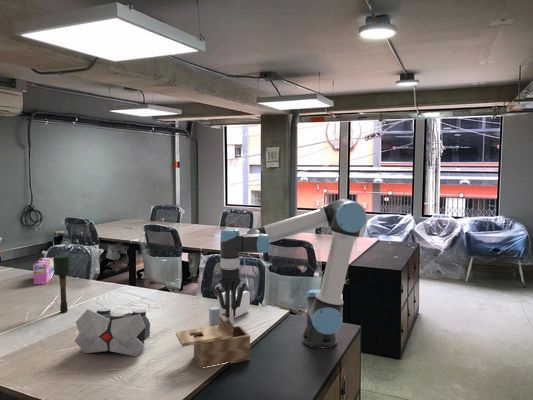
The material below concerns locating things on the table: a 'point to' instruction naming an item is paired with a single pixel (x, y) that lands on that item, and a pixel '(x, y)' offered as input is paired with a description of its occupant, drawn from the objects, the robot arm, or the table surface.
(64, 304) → the stick grenade
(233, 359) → the open wooden box
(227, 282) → the robot arm
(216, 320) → the blue-gray rectangular block
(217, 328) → the tan holed block
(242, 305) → the cable organizer
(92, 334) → the electronic device
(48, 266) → the gum box
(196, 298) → the table surface
